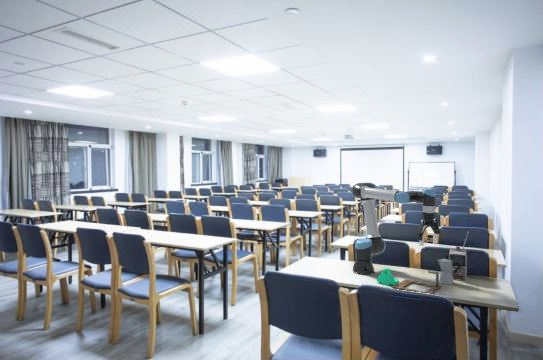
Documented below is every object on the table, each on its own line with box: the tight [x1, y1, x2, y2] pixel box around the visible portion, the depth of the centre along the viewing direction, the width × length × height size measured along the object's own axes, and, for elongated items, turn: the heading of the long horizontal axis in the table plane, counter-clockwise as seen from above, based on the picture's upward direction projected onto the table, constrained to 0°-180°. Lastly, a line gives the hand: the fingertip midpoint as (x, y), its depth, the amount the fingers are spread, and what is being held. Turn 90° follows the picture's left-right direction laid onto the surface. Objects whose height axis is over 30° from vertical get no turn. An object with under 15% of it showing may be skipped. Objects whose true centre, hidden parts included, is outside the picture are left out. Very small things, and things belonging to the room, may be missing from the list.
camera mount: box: [376, 267, 400, 286], centre depth 236 cm, size 12×8×10 cm, turn 51°
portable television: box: [448, 231, 469, 281], centre depth 250 cm, size 12×24×30 cm, turn 152°
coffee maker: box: [436, 254, 461, 285], centre depth 236 cm, size 15×9×18 cm, turn 45°
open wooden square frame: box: [391, 270, 441, 295], centre depth 226 cm, size 22×21×10 cm
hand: (428, 244), depth 240 cm, fingers open, 13 cm apart
